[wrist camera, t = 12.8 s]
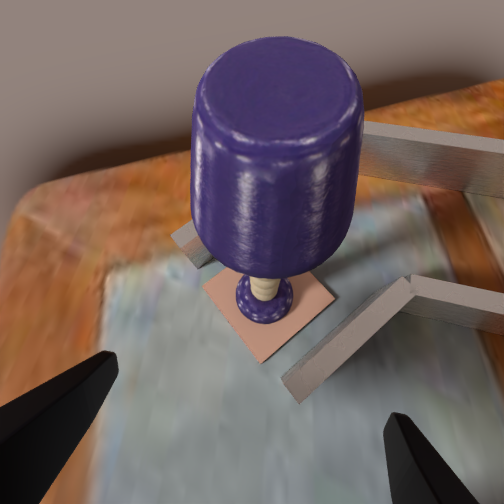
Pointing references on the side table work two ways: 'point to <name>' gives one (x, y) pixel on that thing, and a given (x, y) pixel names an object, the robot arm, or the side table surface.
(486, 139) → the bent rails
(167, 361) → the side table surface
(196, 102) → the toy lamp
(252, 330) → the end pad
